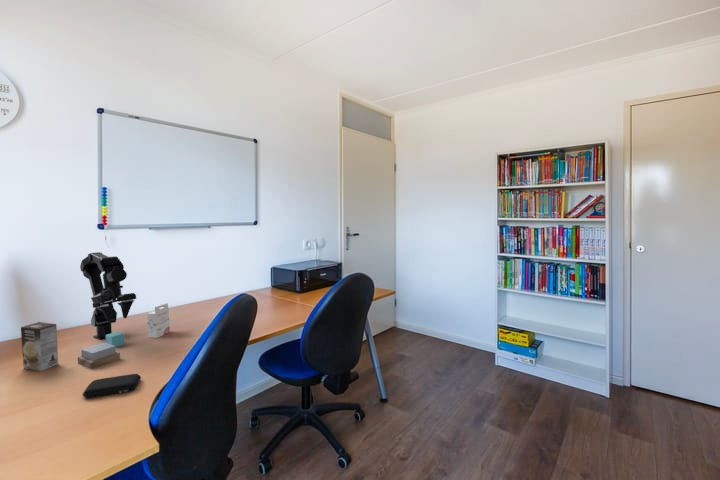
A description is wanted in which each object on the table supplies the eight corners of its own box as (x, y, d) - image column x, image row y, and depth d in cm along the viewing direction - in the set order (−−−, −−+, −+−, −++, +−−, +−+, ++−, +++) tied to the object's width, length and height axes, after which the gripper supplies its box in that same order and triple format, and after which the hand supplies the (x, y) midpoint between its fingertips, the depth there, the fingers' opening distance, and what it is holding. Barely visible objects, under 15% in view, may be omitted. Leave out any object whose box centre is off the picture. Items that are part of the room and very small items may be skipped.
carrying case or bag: (79, 403, 105) (135, 394, 111) (78, 394, 105) (135, 385, 110) (90, 387, 115) (142, 379, 120) (90, 378, 114) (141, 371, 120)
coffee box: (22, 368, 127) (19, 327, 126) (41, 361, 134) (38, 321, 132) (41, 371, 125) (38, 328, 124) (59, 363, 132) (57, 323, 131)
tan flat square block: (78, 364, 132) (77, 357, 132) (107, 355, 141) (106, 348, 141) (91, 370, 127) (90, 362, 127) (120, 360, 136) (119, 353, 136)
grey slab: (81, 356, 132) (81, 349, 132) (104, 349, 139) (104, 342, 139) (92, 360, 129) (92, 353, 129) (115, 353, 136) (115, 345, 136)
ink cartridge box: (161, 331, 169) (160, 302, 168) (170, 332, 168) (169, 302, 167) (147, 337, 160) (146, 306, 159) (156, 338, 159) (155, 307, 158)
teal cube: (106, 346, 150) (105, 334, 150) (118, 342, 154) (118, 331, 154) (112, 348, 148) (111, 336, 147) (124, 344, 152) (124, 333, 152)
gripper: (77, 290, 145) (82, 327, 144) (110, 282, 140) (115, 320, 139) (103, 288, 156) (108, 321, 155) (134, 280, 151) (139, 315, 150)
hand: (117, 319), depth 149 cm, fingers open, 9 cm apart
